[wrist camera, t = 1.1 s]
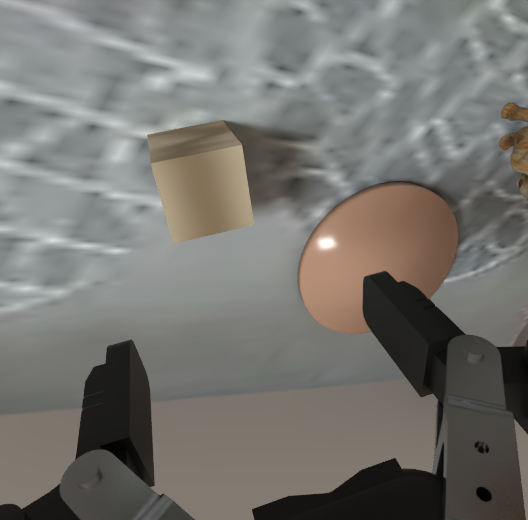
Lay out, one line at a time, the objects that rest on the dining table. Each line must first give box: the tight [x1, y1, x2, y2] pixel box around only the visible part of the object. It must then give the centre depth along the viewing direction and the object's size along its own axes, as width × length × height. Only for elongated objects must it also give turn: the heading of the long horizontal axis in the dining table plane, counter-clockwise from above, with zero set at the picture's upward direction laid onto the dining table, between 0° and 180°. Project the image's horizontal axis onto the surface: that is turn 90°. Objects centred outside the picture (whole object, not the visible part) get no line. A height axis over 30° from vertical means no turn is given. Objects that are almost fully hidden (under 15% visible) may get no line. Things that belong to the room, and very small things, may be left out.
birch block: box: [147, 120, 254, 244], centre depth 26 cm, size 5×5×6 cm
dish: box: [298, 182, 458, 334], centre depth 36 cm, size 15×15×2 cm
